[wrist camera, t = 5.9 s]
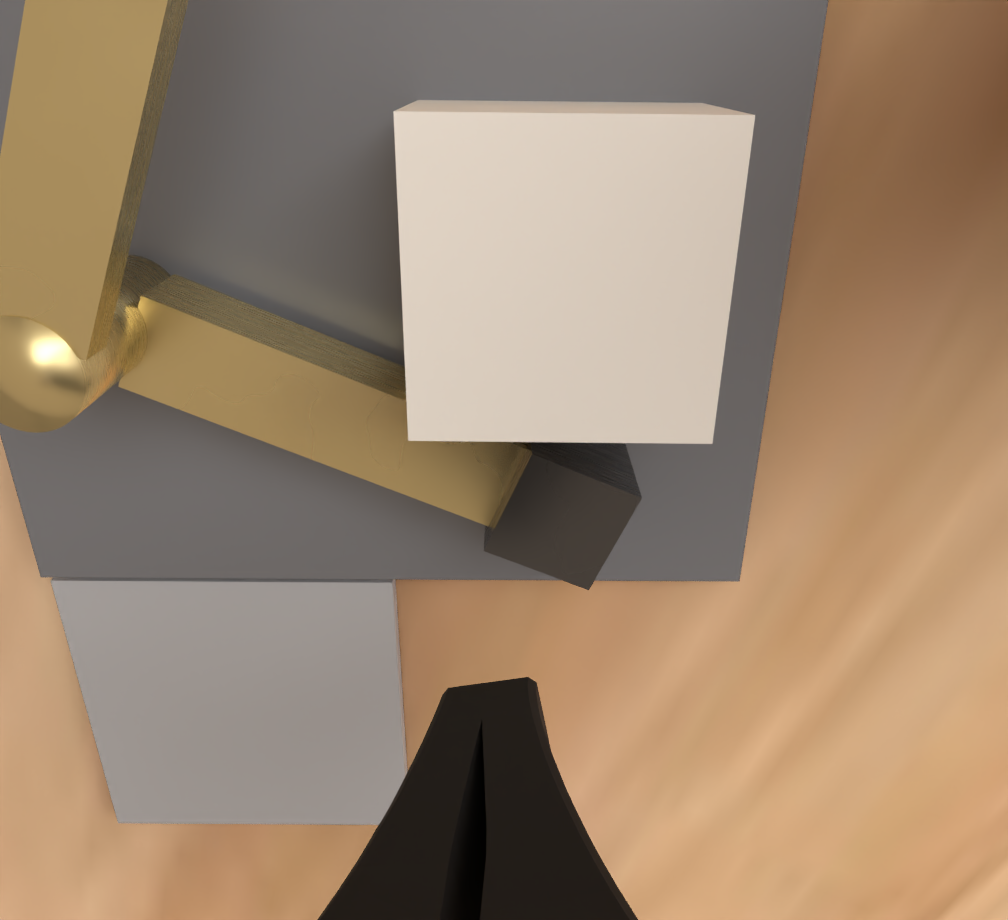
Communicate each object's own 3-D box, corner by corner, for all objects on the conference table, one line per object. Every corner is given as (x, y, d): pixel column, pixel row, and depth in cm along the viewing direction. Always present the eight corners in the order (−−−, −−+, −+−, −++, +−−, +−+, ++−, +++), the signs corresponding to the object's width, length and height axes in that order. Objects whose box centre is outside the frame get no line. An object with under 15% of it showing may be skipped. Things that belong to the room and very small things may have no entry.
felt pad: (394, 570, 20) (391, 582, 19) (409, 810, 23) (407, 825, 23) (60, 568, 20) (50, 580, 19) (125, 808, 23) (118, 823, 23)
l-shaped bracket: (204, -241, 12) (72, -372, 9) (825, 79, 14) (939, 87, 10) (78, 334, 16) (-51, 417, 12) (579, 527, 18) (598, 649, 14)
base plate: (816, -20, 14) (831, -24, 14) (730, 561, 20) (739, 581, 19) (-101, -25, 14) (-132, -28, 14) (58, 558, 20) (40, 576, 19)
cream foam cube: (702, 102, 15) (755, 115, 11) (674, 371, 17) (712, 444, 14) (417, 99, 15) (393, 111, 11) (426, 369, 17) (407, 440, 14)
